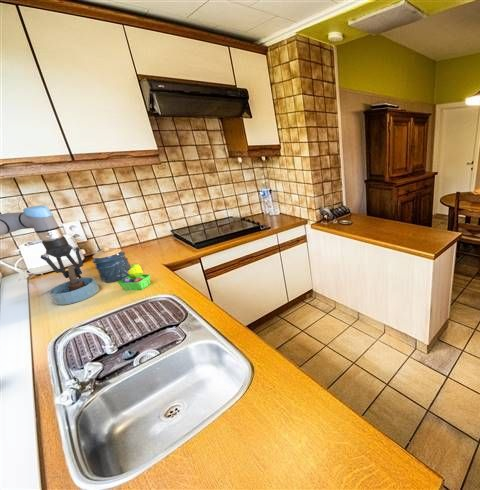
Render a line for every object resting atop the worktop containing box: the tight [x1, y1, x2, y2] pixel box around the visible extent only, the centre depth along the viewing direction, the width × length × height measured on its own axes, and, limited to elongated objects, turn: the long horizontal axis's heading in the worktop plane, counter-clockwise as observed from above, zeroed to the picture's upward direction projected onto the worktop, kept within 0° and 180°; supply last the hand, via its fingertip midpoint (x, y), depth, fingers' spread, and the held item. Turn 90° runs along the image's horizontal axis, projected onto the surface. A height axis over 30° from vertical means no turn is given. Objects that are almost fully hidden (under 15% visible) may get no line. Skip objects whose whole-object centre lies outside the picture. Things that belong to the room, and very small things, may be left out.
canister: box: [91, 246, 132, 283], centre depth 140 cm, size 13×13×18 cm
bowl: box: [48, 276, 100, 306], centre depth 126 cm, size 15×15×6 cm
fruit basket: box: [116, 263, 151, 291], centre depth 130 cm, size 11×9×11 cm
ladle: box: [67, 264, 86, 291], centre depth 131 cm, size 24×6×6 cm, turn 48°
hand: (77, 281), depth 134 cm, fingers closed on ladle, 2 cm apart
